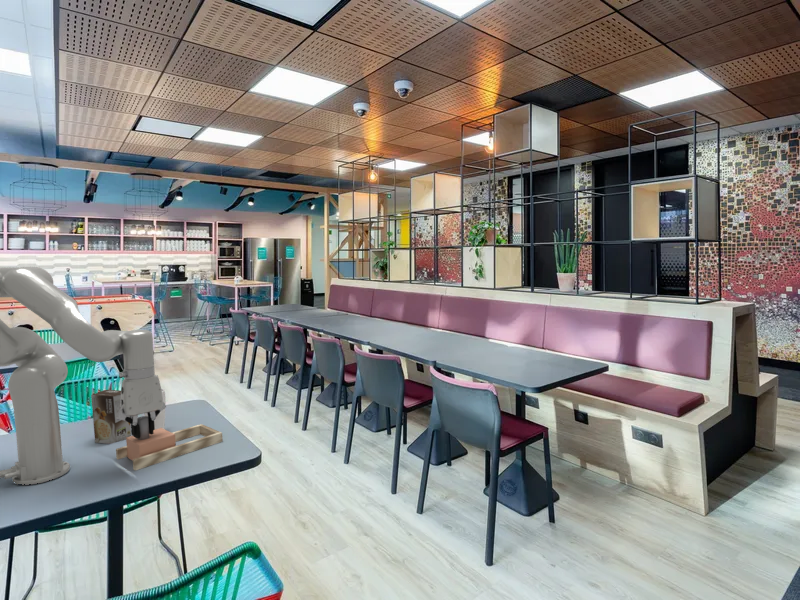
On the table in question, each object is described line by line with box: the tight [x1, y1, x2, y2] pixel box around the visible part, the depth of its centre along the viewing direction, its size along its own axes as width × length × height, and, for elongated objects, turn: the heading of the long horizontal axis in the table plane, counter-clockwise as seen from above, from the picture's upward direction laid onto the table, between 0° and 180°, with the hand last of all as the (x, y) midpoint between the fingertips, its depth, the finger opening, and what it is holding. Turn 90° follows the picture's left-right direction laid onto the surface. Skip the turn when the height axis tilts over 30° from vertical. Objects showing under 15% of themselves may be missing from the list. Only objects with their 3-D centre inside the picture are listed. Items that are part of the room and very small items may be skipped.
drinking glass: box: [143, 388, 167, 430], centre depth 157 cm, size 7×7×15 cm
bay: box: [115, 423, 223, 471], centre depth 142 cm, size 26×13×4 cm, turn 141°
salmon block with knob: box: [125, 415, 177, 462], centre depth 137 cm, size 10×9×12 cm
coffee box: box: [91, 389, 132, 445], centre depth 152 cm, size 9×6×16 cm
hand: (143, 434), depth 135 cm, fingers closed on salmon block with knob, 3 cm apart
